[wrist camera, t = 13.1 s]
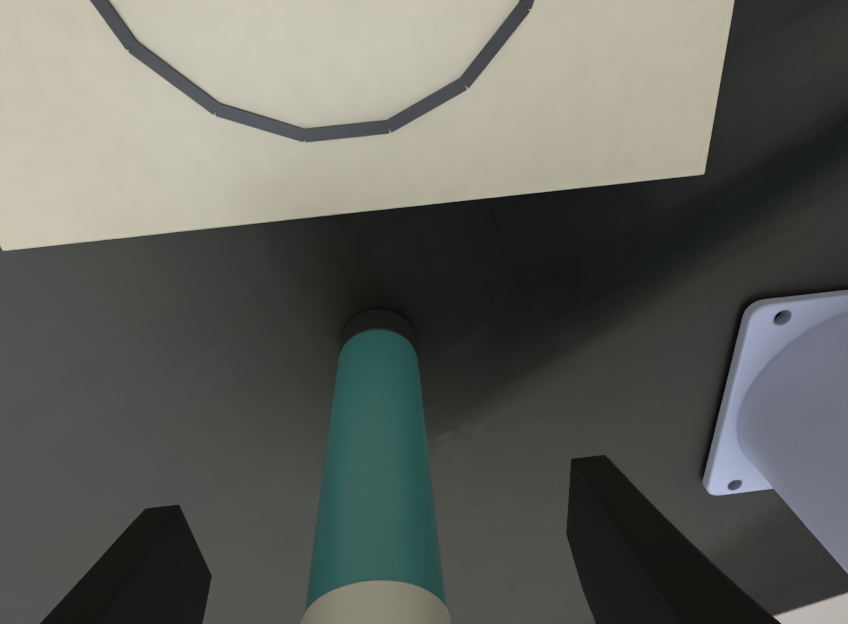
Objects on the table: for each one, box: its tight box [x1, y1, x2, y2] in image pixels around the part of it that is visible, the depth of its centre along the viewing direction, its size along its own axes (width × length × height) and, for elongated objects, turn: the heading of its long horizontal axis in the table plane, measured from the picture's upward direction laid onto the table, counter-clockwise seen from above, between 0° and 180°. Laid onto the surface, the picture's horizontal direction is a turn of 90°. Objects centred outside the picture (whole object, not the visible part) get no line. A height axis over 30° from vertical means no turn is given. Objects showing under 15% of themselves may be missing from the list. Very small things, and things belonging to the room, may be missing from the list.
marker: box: [300, 309, 451, 624], centre depth 11 cm, size 2×2×10 cm
